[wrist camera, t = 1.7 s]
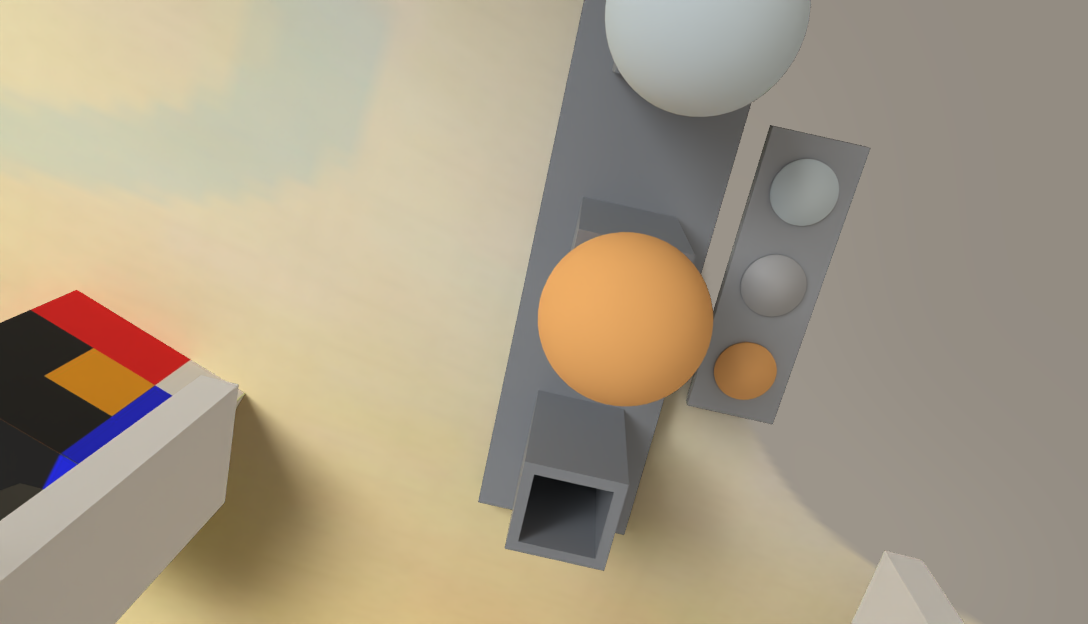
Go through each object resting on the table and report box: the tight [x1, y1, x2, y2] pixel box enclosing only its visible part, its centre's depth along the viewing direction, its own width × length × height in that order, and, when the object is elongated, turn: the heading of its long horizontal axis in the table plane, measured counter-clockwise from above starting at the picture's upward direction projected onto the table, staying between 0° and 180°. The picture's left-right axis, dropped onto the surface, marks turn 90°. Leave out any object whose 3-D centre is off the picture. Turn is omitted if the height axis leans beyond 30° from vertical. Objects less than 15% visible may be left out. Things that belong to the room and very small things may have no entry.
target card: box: [686, 125, 870, 424], centre depth 35 cm, size 14×4×1 cm, turn 168°
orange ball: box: [538, 232, 713, 406], centre depth 25 cm, size 6×6×6 cm
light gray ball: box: [605, 0, 811, 117], centre depth 22 cm, size 6×6×6 cm
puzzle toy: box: [0, 290, 245, 490], centre depth 36 cm, size 10×10×10 cm
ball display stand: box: [478, 0, 751, 571], centre depth 31 cm, size 30×8×8 cm, turn 168°
